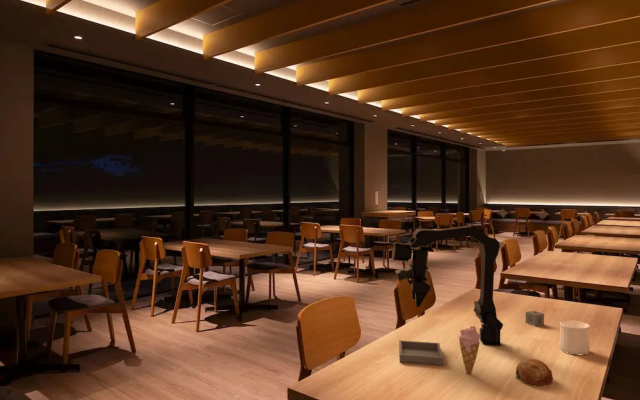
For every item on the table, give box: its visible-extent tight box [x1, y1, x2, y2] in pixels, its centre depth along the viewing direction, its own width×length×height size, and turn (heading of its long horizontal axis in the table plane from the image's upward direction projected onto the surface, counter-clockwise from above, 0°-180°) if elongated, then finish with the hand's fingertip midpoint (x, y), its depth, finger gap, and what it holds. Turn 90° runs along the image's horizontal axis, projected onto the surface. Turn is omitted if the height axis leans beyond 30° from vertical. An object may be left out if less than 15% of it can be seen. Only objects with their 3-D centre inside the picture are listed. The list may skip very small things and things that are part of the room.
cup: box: [559, 319, 591, 355], centre depth 154 cm, size 10×10×10 cm
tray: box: [398, 340, 444, 367], centre depth 148 cm, size 14×14×2 cm
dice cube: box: [525, 310, 545, 327], centre depth 186 cm, size 5×5×5 cm
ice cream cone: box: [458, 325, 480, 375], centre depth 134 cm, size 7×6×15 cm
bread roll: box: [515, 357, 554, 387], centre depth 131 cm, size 10×10×8 cm
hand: (415, 302), depth 163 cm, fingers open, 9 cm apart
